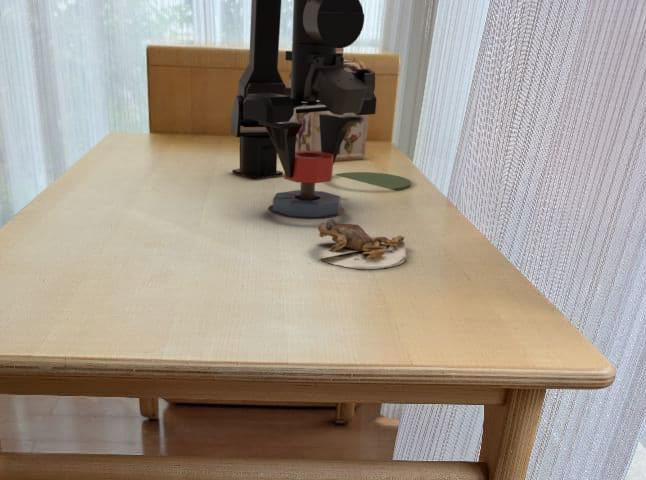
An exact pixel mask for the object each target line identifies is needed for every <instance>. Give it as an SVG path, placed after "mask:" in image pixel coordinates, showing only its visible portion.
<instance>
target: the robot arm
mask: <svg viewBox="0 0 646 480" xmlns="http://www.w3.org/2000/svg"><path fill="white" fill-rule="evenodd" d="M250 7H251V8H250V31H249V34H250V35H249V58H248V59H249V60H248V65H247V66H246V68H245V69H244V71H243V72H242V75H241V76H240V78H239V80H238V85H237V87H238V88H237V95H235V96H234V101H233V105H232V110H231V115H230V133H231V135H232V136H234V137H235V138H239V168H235V169H234V168H233V169H231V170H232V174H235V175H238V176H243V177H245V178H249V179H254V180H255V179H256V180H257V179H264V178H270V177H278V176H284V174H285V175H286V177H289V178H292V177H293V173H294V166H295V146H296V135H297V133H298V132H299V130H300V128H301V126H302V124H301V123H296V113H309V112H321V111H326V114H319V121H320V137H321V151H322V152H326V153H330V154H334V155H333V165H335V162H336V161H335V159H336V156H337V154H338V151H339V148H340V146H341V143H342V141H343V139H344V137H345V135H346V133H347V131H348V130H349V129H350V128H351V127H352V126H353V125H354V124H355V123H357V122H360V121H361V119H362V118H360V117H355V114H358V115H368V116H369V115H376V113H377V102H378V101H377V97H376V95H375V89H376V72H374V71H373V70H372V69H371V68H369V67H367V68H366V67H365V68H366V69H358V70H357V72H356V73H355V72H348V71H346V70H344V59H345V57H344V52H343V53H336V50H337V48H347V47H350V46H351V45H352V44H354V43H355V42H356V41H357V40H358V38H359V37H360V35H361V33H362V31H363V29H364V23H365V14H364V9H363V6H362V3H361V0H293V6H292V7H293V8H292V37H291V39H292V40H291V42H292V43H291V50H286V51H285V61H289V62H291V66H290V67H291V68H290V72H291V87H288V86H286V84H285V82H284V80H283V78H282V75H281V74H280V71H279V51H280V49H279V48H280V35H281V34H280V31H281V29H280V28H281V15H282V0H251V5H250ZM290 97H291V98H290ZM316 100H319V101H316ZM241 127H242V128H241ZM278 159H279V162H280V164H281V167H282V170H283V171H280V170H277V169H278V168H277V166H278Z"/></svg>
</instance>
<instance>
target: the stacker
mask: <svg viewBox="0 0 646 480" xmlns="http://www.w3.org/2000/svg"><path fill="white" fill-rule="evenodd" d="M299 190H300V200H309V201H312V200H314V195H315V191H316V183H301V182H300V189H299ZM267 211H268V212H269V213H271V214H273V215H275V216H278V217H282V218H283V217H284V218H287V219H299V220H325V219H333V218H337V217H341V216H343V215H345V214H346V209H345V208H344V207H342V206H340V209H339V213H338V214H336V215H330V216H324V217H318V218H314V217H296V216H288V215H285V214H282V213H279V212H276V211H273V204H271V205H269V206H268V207H267Z"/></svg>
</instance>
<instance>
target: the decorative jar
mask: <svg viewBox="0 0 646 480" xmlns="http://www.w3.org/2000/svg"><path fill="white" fill-rule="evenodd" d="M336 53H343V54H344V48H337V50H336ZM358 69H366V66H365V64H364V62H363V61H360V60H357V59H353V58H344V70H346V71H348V72H355V73H356V72H357V70H358ZM287 87H291V71H290V72H289V74H288V83H287ZM290 98H291V97H290ZM316 101H319V100H316ZM319 114H326V111H321V112H309V113H296V123H301V124H302V126H301V128H300V130H299V132H298V133H297V135H296V146H295V151H303V150H304V151H321V137H320V121H319ZM355 117H360V118H362V119H361V121H360V122H357V123H355V124H354V125H353V126H352V127H351V128H350V129H349V130H348V131H347V133H346V135H345V137H344V139H343V141H342V143H341V146H340V148H339V151H338V154H337V156H336V159H335V162H341V161H342V162H343V161H356V160H358V161H359V160H364V159H365V154H366V146H367V136H368V127H369V115H358V114H355Z"/></svg>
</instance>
